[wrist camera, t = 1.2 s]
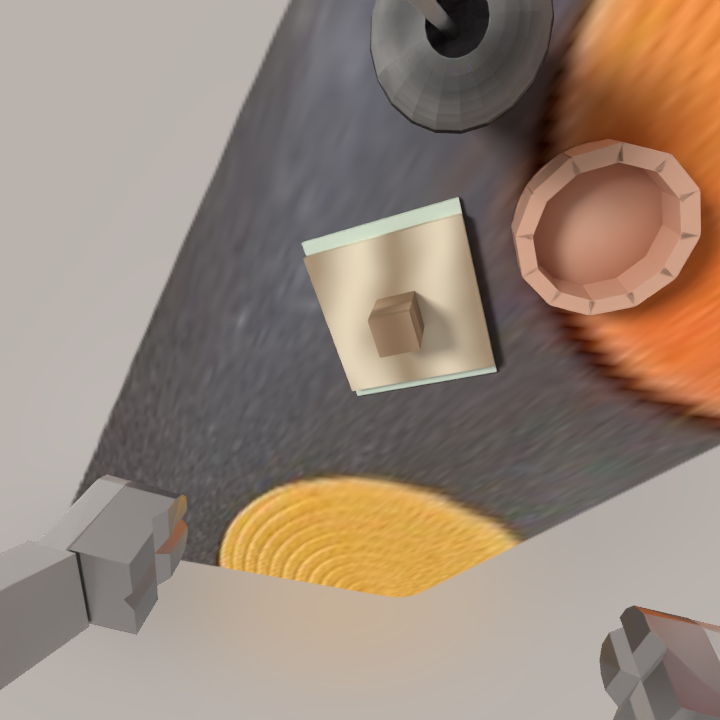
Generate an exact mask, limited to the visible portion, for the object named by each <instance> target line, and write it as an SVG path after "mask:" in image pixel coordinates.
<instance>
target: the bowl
mask: <svg viewBox="0 0 720 720" xmlns="http://www.w3.org/2000/svg"><path fill="white" fill-rule="evenodd" d="M699 189H700V188H699V187H698V186H697V185H696V184H695V182H694V181H693V180H692V179H691V177H690V176H689V175H688V174H687V172H686V171H685V170H684V169H683V167H682V166H681V165H680V164H679V163H678V161H677V160H676V159H675V158H674V156H673V155H672V154H670V153H666V152H662V151H658V150H654V149H650V148H646V147H642V146H638V145H634V144H630V143H626V142H622V141H617V140H613V139H605V140H601V141H593V142H588V143H584V144H580V145H578V146H575V147H572V148H570V149H568V150H566V151H564V152H562V153H560V154H558V155H557V156H555V157H554V158H552V159H551V160H549V161H548V162H547V163H546V164H545V165H543V166H542V167H541V168H540V169H539V170H538V171H537V172H536V173H535V174H534V175H533V177H532V178H531V179H530V181H529V182H528V183H527V185H526V186H525V188H524V190H523V192H522V193H521V195H520V198H519V200H518V202H517V205H516V209H515V212H514V217H513V222H512V226H511V227H512V234H513V242H514V246H515V250H516V255H517V261H518V265H519V268H520V271H521V274H522V276H523V278H524V279H525V280H526V281H527V282H528V283H529V284H530V285H531V286H532V287H533V288H534V289H535V290H536V291H537V293H538V294H539V295H540V296H541V297H542V298H543V299H544V300H545V301H546V302H547V303H548V304H550V305H552V306H555V307H559V308H563V309H567V310H570V311H574V312H578V313H582V314H585V315H590V316H591V315H596V314H601V313H606V312H611V311H616V310H621V309H626V308H631V307H635V306H637V305H638V304H640V303H641V302H643V301H644V300H646V299H647V298H649V297H650V296H651V295H653V294H654V293H656V292H657V291H659V290H660V289H661V288H663V287H664V286H666V285H667V284H669V283H670V282H672V281H673V280H674V279H675V278H677V276H678V274H679V272H680V271H681V269H682V267H683V266H684V264H685V262H686V260H687V259H688V257H689V255H690V254H691V252H692V250H693V248H694V247H695V245H696V243H697V242H698V240H699V238H700V236H699V235H701V208H700V190H699ZM674 277H675V278H674ZM634 305H635V306H634Z"/></svg>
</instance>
